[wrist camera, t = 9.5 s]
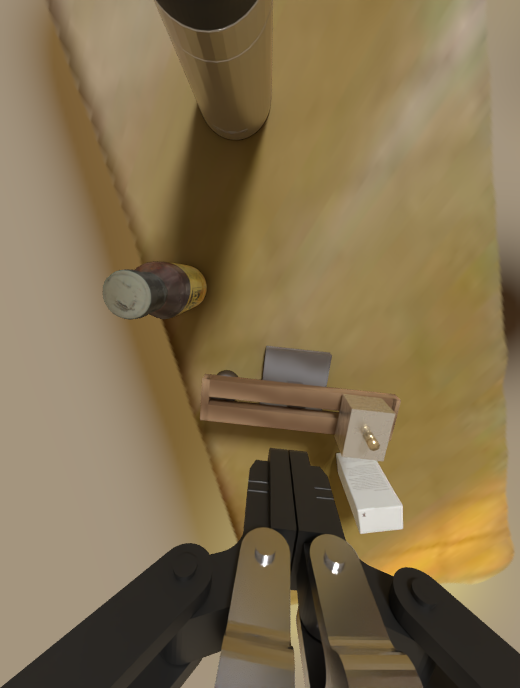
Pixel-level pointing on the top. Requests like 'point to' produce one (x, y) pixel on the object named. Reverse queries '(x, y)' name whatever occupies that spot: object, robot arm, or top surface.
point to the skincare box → (369, 495)
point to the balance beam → (282, 394)
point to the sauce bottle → (154, 290)
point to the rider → (363, 427)
